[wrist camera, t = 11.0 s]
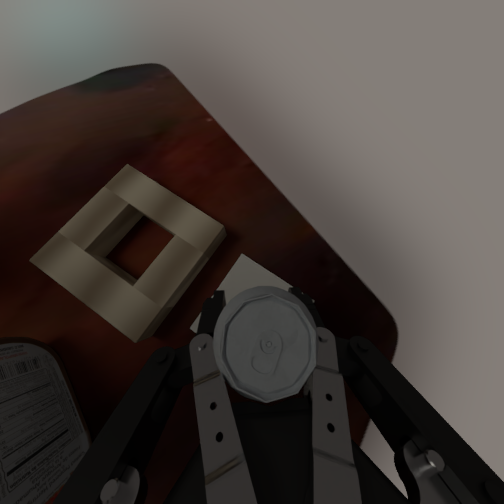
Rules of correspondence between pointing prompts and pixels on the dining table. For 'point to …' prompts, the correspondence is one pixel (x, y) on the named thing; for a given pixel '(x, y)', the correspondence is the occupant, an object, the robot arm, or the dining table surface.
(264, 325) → the beer can
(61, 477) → the tin
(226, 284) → the pad
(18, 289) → the dining table surface
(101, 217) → the socket block
